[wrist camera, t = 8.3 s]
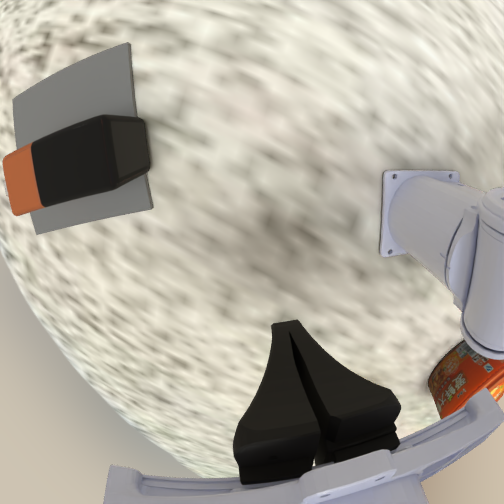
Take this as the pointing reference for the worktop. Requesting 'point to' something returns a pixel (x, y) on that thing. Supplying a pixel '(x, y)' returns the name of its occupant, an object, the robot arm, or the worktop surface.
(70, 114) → the mat
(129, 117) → the battery
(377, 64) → the worktop surface
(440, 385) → the food container
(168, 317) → the worktop surface
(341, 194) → the worktop surface
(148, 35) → the worktop surface
